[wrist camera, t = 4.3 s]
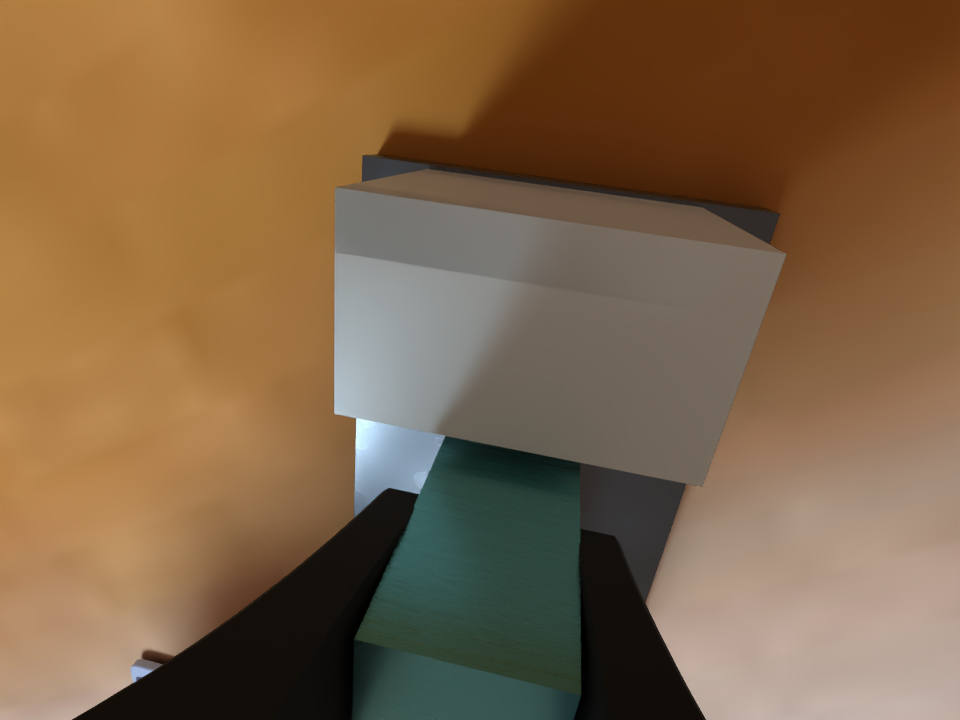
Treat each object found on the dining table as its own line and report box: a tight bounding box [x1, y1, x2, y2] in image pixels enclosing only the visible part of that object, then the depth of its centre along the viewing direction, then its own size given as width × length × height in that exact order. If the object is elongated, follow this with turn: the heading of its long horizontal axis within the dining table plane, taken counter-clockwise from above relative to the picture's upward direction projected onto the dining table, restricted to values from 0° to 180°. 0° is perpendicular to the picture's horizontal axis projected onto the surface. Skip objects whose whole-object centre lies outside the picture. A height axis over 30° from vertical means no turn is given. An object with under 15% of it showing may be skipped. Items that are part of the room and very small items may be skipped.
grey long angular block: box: [354, 154, 780, 602], centre depth 16 cm, size 25×10×6 cm, turn 173°
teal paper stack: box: [352, 436, 581, 720], centre depth 11 cm, size 16×3×8 cm, turn 173°
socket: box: [334, 169, 787, 487], centre depth 11 cm, size 4×7×5 cm, turn 83°
